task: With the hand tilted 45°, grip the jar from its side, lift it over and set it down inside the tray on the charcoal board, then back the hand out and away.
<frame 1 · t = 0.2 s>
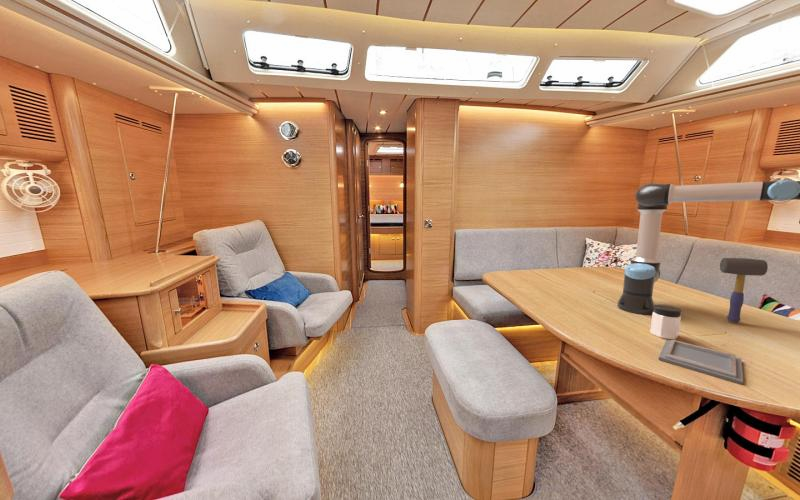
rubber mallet: (732, 322, 127), on the table
jar: (663, 335, 117), on the table
tray: (699, 356, 97), on the board, point 1 cm above the table
board: (699, 360, 98), on the table
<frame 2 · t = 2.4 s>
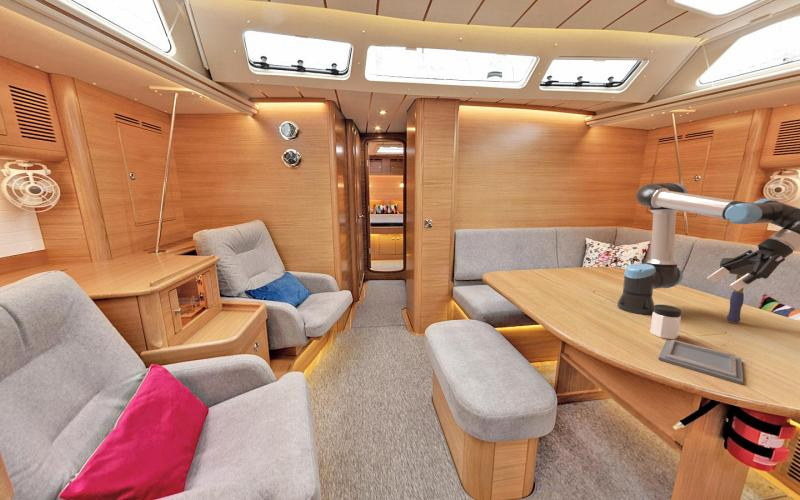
hand: (721, 284, 107), 24 cm above the table, tool tilted 40°, fingers open, 13 cm apart
nothing on the table moved.
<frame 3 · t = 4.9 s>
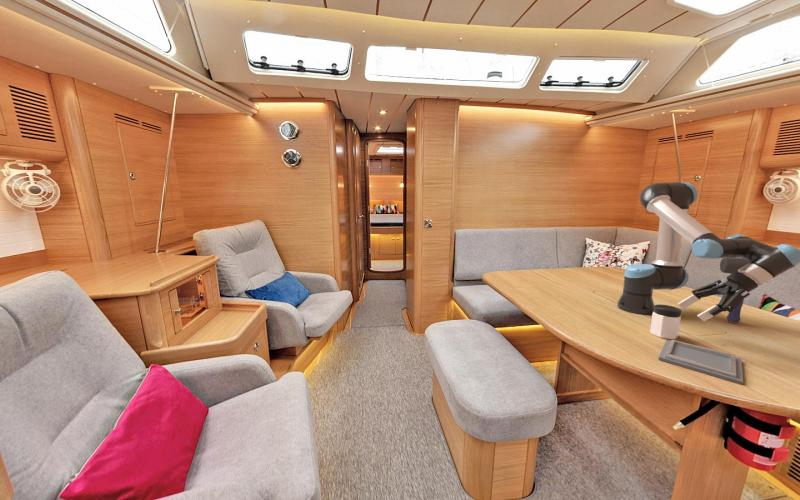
hand: (689, 312, 111), 11 cm above the table, tool tilted 45°, fingers open, 13 cm apart
nothing on the table moved.
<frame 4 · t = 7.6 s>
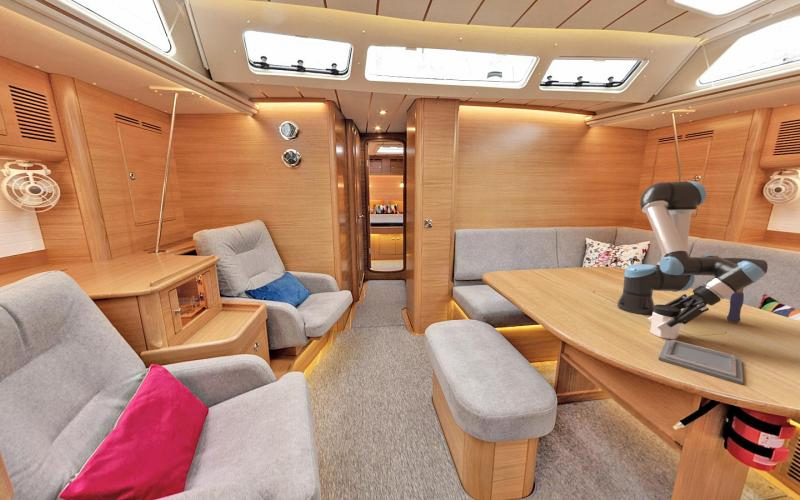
hand: (654, 325, 117), 4 cm above the table, tool tilted 45°, fingers closed on jar, 8 cm apart
jar: (663, 335, 117), on the table, touching gripper
everything else where it was.
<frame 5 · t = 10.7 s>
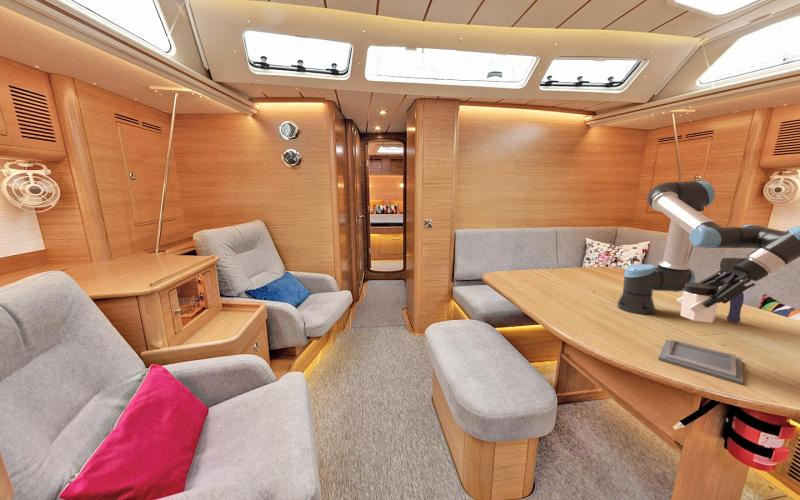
hand: (686, 306, 100), 18 cm above the table, tool tilted 45°, fingers closed on jar, 8 cm apart
jar: (697, 318, 99), point 14 cm above the table, touching gripper
everything else where it was.
when the fingers open (6 cm above the table, at t = 14.1 s): jar drops 1 cm, resting on board.
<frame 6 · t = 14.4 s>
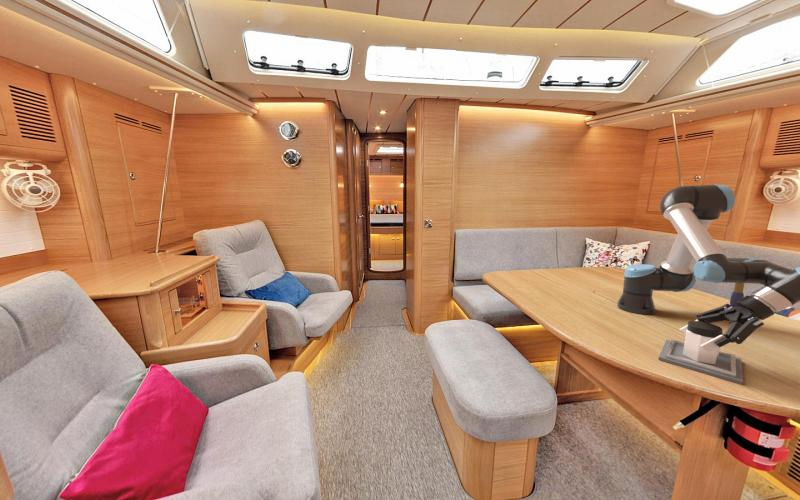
hand: (692, 340, 97), 7 cm above the table, tool tilted 45°, fingers open, 12 cm apart
jar: (699, 358, 98), point 1 cm above the table, touching board
everything else where it was.
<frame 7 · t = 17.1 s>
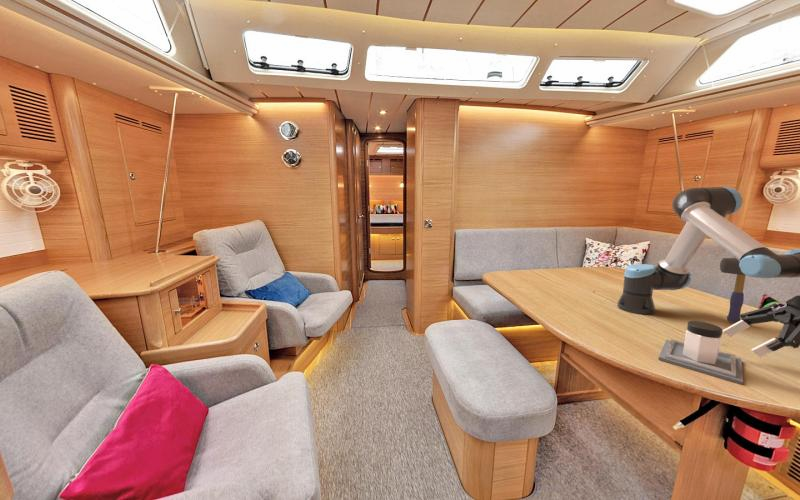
hand: (739, 343, 93), 8 cm above the table, tool tilted 40°, fingers open, 13 cm apart
nothing on the table moved.
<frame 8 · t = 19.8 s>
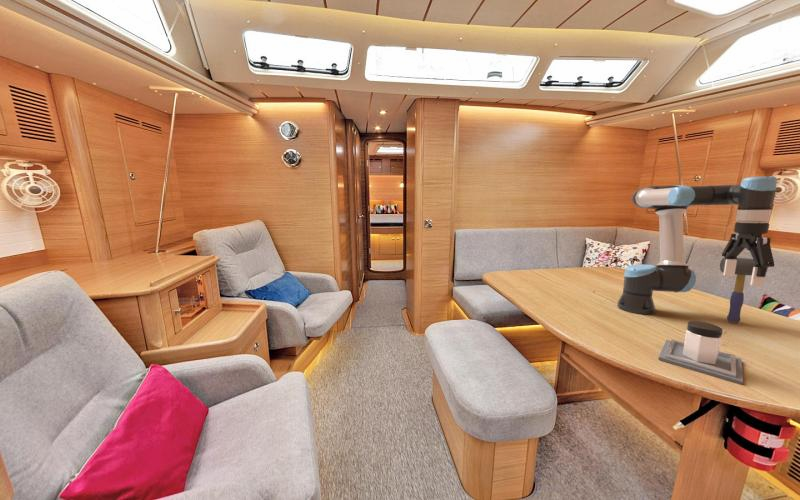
hand: (741, 280, 100), 27 cm above the table, tool pointing down, fingers open, 13 cm apart
nothing on the table moved.
at the end: jar inside the target area on the board (0.2 cm from its centre), point 0.8 cm above the board's base; jar tilted 0°; the gripper is holding nothing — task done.
